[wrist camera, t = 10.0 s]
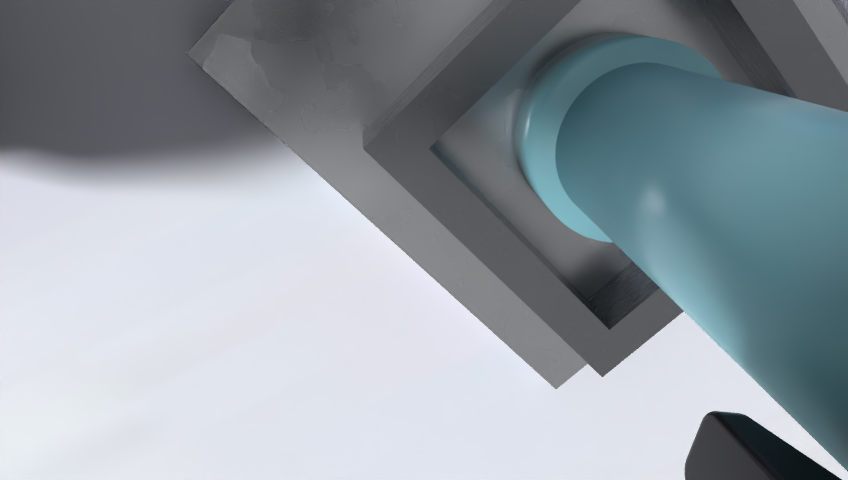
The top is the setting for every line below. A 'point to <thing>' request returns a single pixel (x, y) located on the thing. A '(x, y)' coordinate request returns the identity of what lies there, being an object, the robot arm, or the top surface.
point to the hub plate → (492, 136)
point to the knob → (708, 204)
